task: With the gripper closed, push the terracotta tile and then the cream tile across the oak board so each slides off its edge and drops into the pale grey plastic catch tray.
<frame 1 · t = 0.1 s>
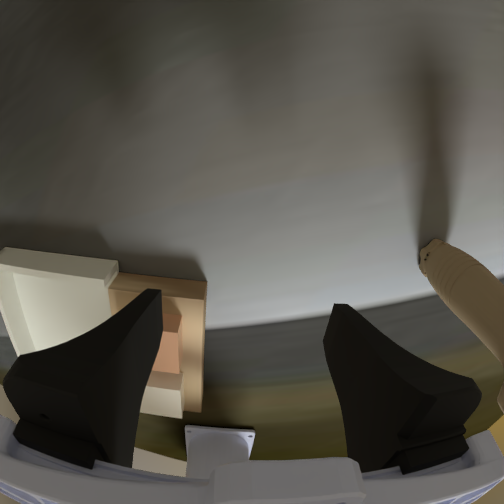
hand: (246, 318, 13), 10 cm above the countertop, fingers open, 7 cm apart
terracotta tile: (156, 333, 22), point 2 cm above the countertop, touching oak board
oak board: (164, 341, 26), on the countertop
handle: (430, 254, 23), on the countertop
catch tray: (69, 326, 25), on the countertop
cream tile: (161, 385, 25), point 2 cm above the countertop, touching oak board
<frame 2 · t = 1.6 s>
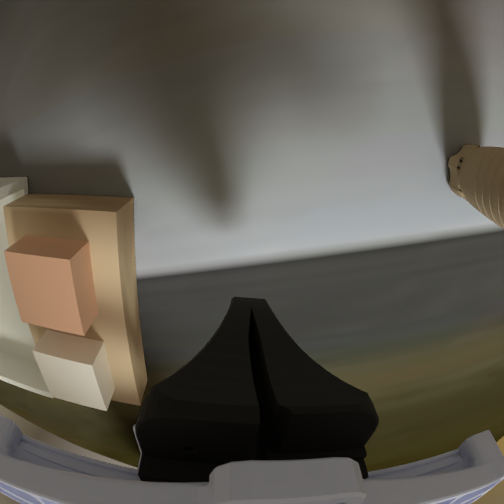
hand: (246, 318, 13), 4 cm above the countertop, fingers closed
terracotta tile: (60, 274, 14), point 2 cm above the countertop, touching oak board
oak board: (86, 298, 17), on the countertop
handle: (461, 169, 15), on the countertop
cream tile: (80, 360, 16), point 2 cm above the countertop, touching oak board
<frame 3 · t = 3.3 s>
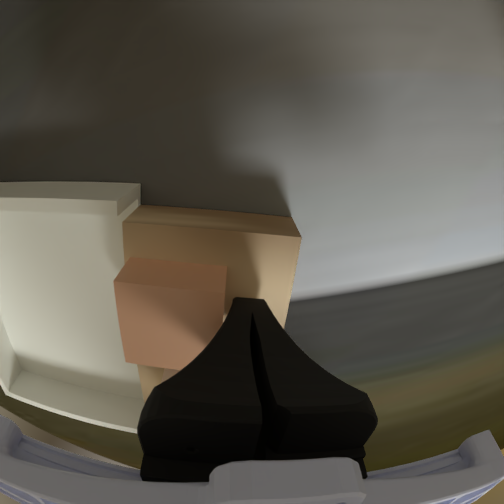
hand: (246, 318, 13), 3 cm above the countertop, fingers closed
terracotta tile: (177, 303, 13), point 2 cm above the countertop, touching gripper, oak board
oak board: (208, 326, 17), on the countertop
catch tray: (55, 305, 16), on the countertop
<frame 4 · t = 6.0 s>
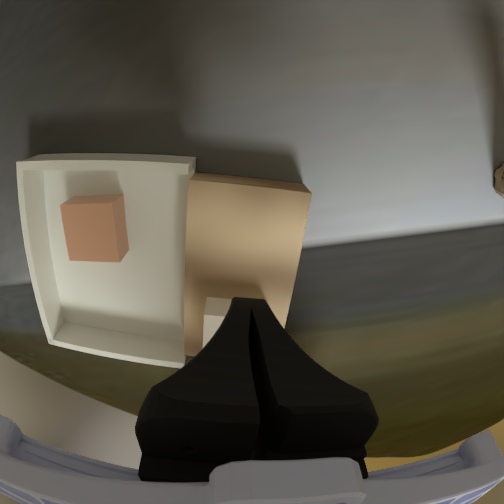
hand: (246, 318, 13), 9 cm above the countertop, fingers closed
terracotta tile: (88, 233, 18), point 2 cm above the countertop, tilted 180°, touching catch tray
oak board: (239, 268, 22), on the countertop
handle: (501, 178, 20), on the countertop
catch tray: (111, 255, 21), on the countertop
cream tile: (234, 323, 21), point 2 cm above the countertop, touching oak board
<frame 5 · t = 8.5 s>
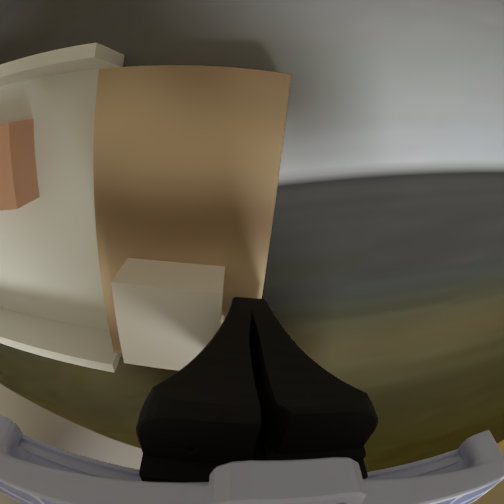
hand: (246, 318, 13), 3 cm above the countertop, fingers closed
oak board: (188, 218, 14), on the countertop
catch tray: (23, 208, 13), on the countertop
cream tile: (175, 303, 13), point 3 cm above the countertop, touching gripper
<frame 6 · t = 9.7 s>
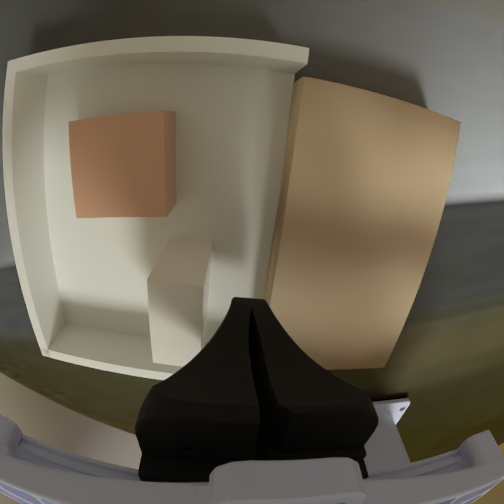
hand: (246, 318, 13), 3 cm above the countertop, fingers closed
terracotta tile: (114, 167, 11), point 2 cm above the countertop, tilted 180°, touching catch tray
oak board: (344, 233, 15), on the countertop
catch tray: (144, 214, 14), on the countertop
cream tile: (206, 302, 13), point 2 cm above the countertop, tilted 90°, touching catch tray
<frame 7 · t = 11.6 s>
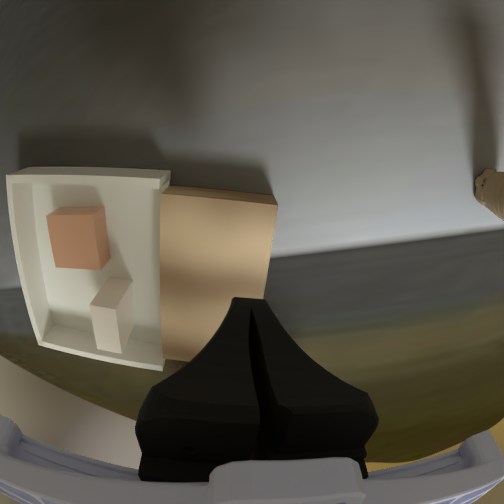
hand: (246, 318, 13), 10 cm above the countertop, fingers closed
terracotta tile: (72, 242, 19), point 2 cm above the countertop, tilted 180°, touching catch tray
oak board: (213, 276, 23), on the countertop
handle: (483, 185, 21), on the countertop
catch tray: (95, 262, 22), on the countertop
cream tile: (126, 316, 21), point 2 cm above the countertop, tilted 90°, touching catch tray
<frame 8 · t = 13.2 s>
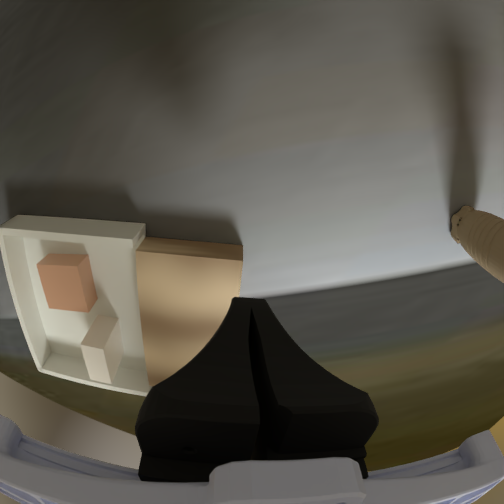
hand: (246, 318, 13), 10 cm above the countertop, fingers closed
terracotta tile: (61, 288, 20), point 2 cm above the countertop, tilted 180°, touching catch tray
oak board: (191, 315, 24), on the countertop
handle: (460, 221, 22), on the countertop
catch tray: (84, 301, 24), on the countertop
cream tile: (114, 351, 23), point 2 cm above the countertop, tilted 90°, touching catch tray
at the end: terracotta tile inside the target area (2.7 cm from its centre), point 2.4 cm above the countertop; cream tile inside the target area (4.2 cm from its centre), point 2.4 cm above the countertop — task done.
